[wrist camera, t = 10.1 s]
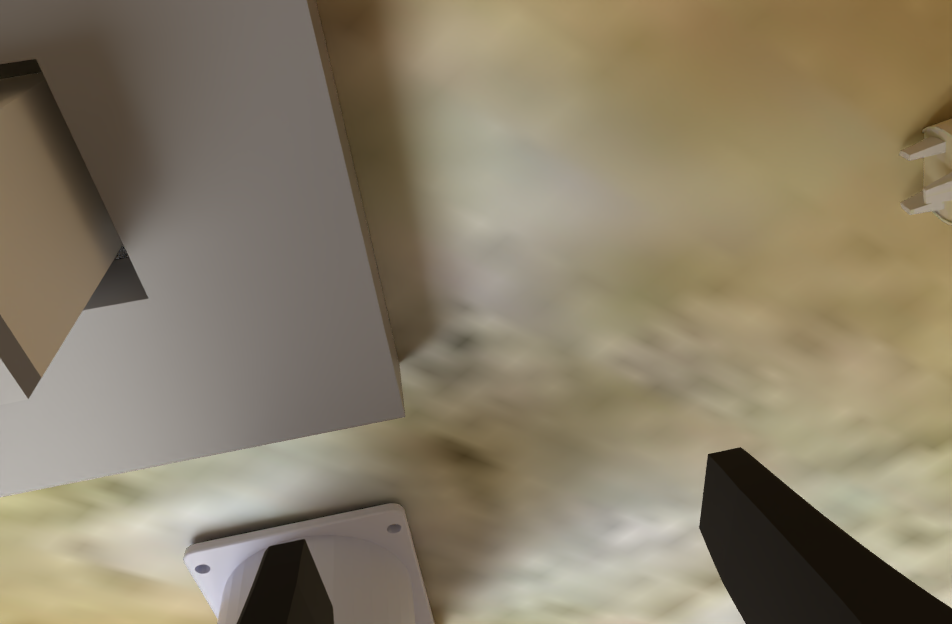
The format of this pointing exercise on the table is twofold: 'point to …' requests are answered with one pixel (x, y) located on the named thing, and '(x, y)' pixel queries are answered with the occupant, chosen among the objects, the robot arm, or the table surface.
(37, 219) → the plug
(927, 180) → the cable
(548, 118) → the table surface
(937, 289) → the table surface
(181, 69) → the socket block
